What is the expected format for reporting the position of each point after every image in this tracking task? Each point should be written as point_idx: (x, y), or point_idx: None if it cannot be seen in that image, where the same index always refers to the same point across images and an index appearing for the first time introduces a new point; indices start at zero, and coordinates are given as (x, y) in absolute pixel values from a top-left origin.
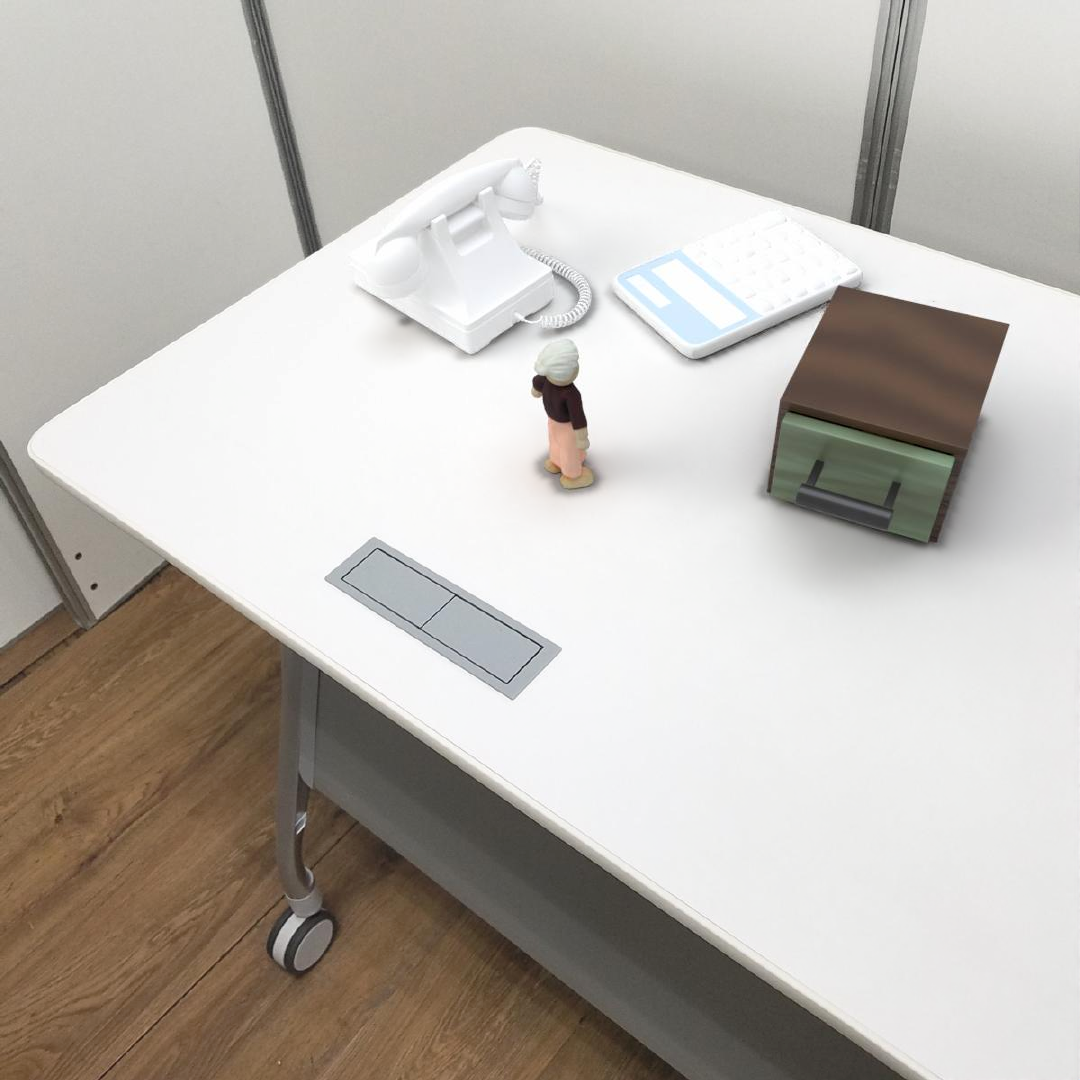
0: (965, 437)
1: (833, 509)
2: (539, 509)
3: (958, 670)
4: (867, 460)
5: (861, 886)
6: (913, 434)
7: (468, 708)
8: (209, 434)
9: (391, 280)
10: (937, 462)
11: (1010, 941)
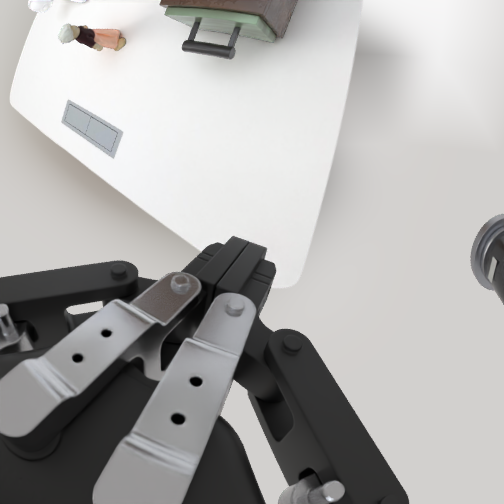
0: (262, 5)
1: (201, 53)
2: (108, 65)
3: (284, 118)
4: (215, 21)
5: (233, 227)
6: (230, 8)
7: (103, 164)
8: (31, 77)
9: (40, 9)
10: (247, 22)
11: (285, 248)
